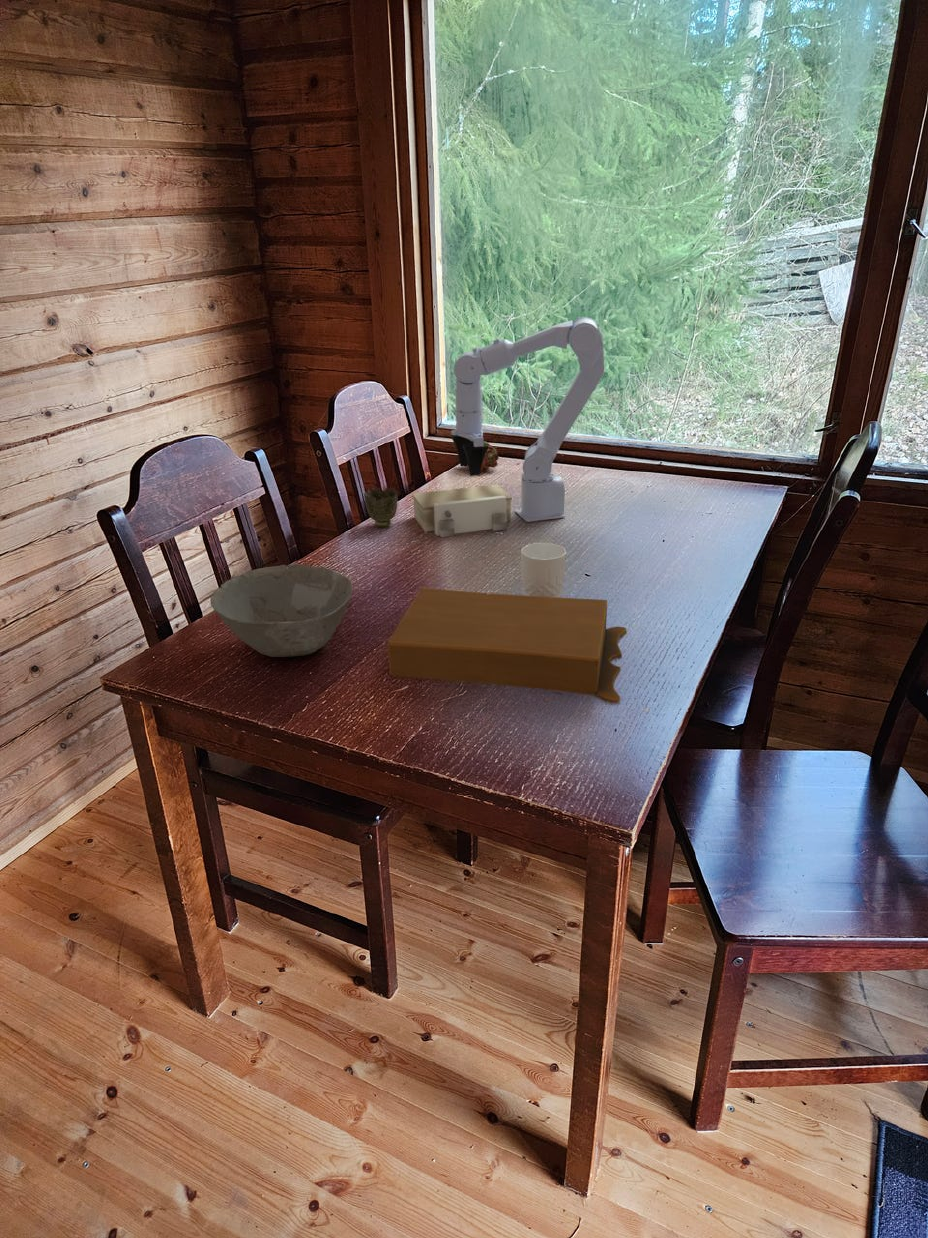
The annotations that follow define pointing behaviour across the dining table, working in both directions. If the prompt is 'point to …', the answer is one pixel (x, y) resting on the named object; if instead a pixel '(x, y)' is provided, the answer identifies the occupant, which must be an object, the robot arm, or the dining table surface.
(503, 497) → the door
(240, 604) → the ceramic bowl
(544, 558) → the white cup
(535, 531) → the dining table surface
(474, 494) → the cabinet
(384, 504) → the cup
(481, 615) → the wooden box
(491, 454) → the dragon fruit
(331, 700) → the dining table surface
